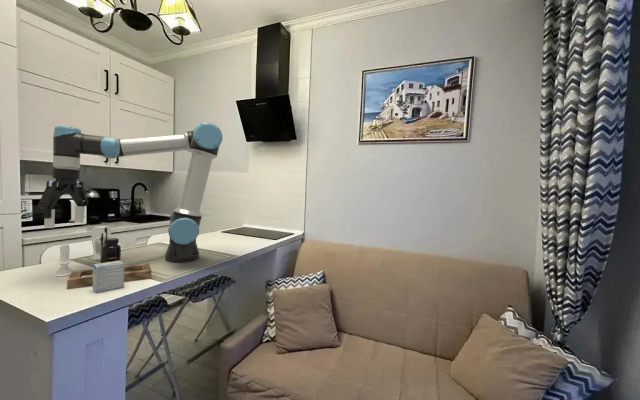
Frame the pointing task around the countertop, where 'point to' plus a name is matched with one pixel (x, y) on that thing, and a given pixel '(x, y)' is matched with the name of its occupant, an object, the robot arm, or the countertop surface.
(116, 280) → the medicine box
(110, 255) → the supplement bottle
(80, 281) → the rack block
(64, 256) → the candle
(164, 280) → the countertop surface
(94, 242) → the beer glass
